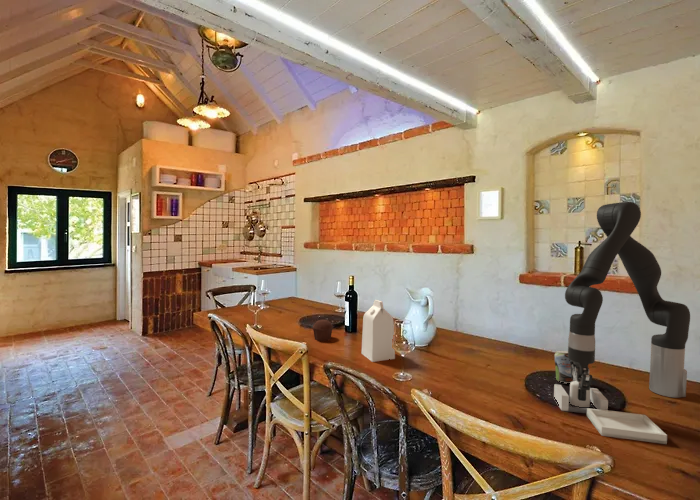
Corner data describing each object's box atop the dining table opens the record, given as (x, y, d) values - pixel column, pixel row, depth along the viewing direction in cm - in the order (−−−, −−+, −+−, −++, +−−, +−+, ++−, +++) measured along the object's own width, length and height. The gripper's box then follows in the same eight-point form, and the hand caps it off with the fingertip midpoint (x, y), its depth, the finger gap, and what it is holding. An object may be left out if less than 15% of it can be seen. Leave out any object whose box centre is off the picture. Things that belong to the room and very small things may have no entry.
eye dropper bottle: (572, 401, 124) (573, 367, 124) (591, 407, 120) (592, 372, 120) (567, 405, 122) (568, 370, 121) (586, 411, 117) (588, 375, 117)
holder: (596, 403, 123) (597, 388, 123) (607, 415, 115) (608, 400, 115) (553, 398, 127) (554, 384, 127) (561, 410, 118) (561, 395, 118)
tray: (644, 422, 111) (645, 414, 111) (666, 444, 100) (667, 435, 99) (586, 415, 115) (587, 408, 115) (601, 435, 104) (601, 426, 104)
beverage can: (565, 386, 136) (566, 355, 136) (549, 379, 144) (550, 349, 143) (578, 385, 138) (579, 353, 138) (562, 377, 145) (563, 347, 145)
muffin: (310, 336, 201) (310, 318, 200) (330, 334, 204) (330, 317, 204) (315, 342, 189) (315, 323, 189) (335, 340, 193) (335, 322, 192)
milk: (395, 358, 166) (395, 302, 165) (372, 361, 162) (372, 304, 160) (383, 350, 177) (383, 297, 176) (361, 353, 173) (361, 299, 172)
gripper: (603, 354, 112) (601, 408, 113) (586, 341, 126) (584, 389, 127) (575, 352, 114) (573, 405, 115) (562, 339, 128) (560, 387, 129)
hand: (579, 397), depth 121 cm, fingers closed on eye dropper bottle, 3 cm apart
